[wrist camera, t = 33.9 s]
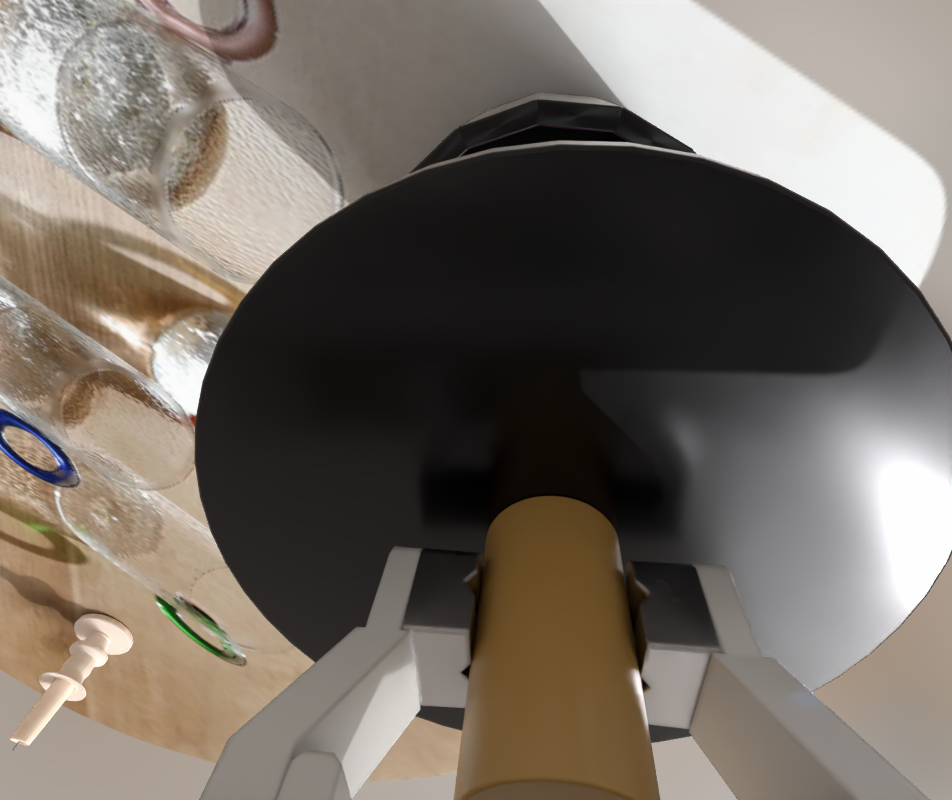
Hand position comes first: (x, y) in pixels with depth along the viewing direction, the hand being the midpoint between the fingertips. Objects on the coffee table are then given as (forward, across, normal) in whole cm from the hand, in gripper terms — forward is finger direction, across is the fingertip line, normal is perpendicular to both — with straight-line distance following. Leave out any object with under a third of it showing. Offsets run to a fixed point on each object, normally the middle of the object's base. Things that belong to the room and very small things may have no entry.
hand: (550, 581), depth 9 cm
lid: (+2, 0, 0) cm, 2 cm away
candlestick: (+23, +39, +36) cm, 58 cm away
